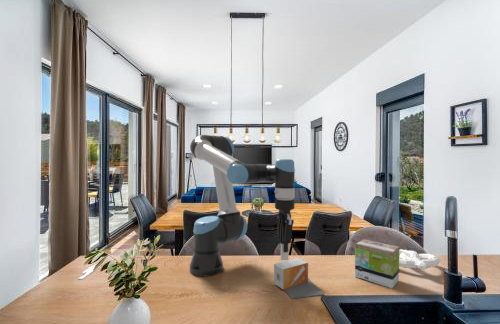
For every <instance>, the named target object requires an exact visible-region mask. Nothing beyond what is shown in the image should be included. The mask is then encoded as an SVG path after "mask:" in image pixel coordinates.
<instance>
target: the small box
mask: <svg viewBox="0 0 500 324" xmlns="http://www.w3.org/2000/svg"><path fill="white" fill-rule="evenodd" d="M308 278H309V262H307V261H305V260H304V259H301V258H299V257H296V258H292V259H288V260H283V261H280V262H276V263H274V264H273V284H274V285H276V286H277V287H279V288H280V289H281V290H284V291H285V289H287V288H290V287H293V286H296V285H300V284H303V283H306V282H308Z"/></svg>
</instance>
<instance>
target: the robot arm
mask: <svg viewBox="0 0 500 324" xmlns="http://www.w3.org/2000/svg"><path fill="white" fill-rule="evenodd" d="M189 149H190V150H189V151H190V153H191V154H192V155H193V156H194V157H195V158H196V159H198V160H200V161H205V162H206V163H208V164H210V165H211V166H212V169H213V170H212V171H213V175H214V183H215V189H216V198H217V203H218V209H219V210H218V213H217V215H207V216H203V217H200V218H198V219H196V220H195V222H194V224H193V255H192V257H191V260H190V263H189V273H191V274H192V275H194V276H197V277H199V276H200V277H209V276H214V275H218V274H220V273H221V272H222V271H223V270H224V262H223V259H222V257H221V253H220V245H221V244H225V243H229V242H233V241H234V242H235V241H238V240H240V239H243V238H244V237H245V235H246V233H247V231H248V221H247V219H246V218H245V217H244V215H243V214H242V215H241V211H240V210H239V209H238V208H237V203H236V197H235V191H234V185H235V184H236V185H244V184H245V185H246V184H256V183H257V184H258V183H273V184H274V188H275V189H274V191H273V192H274V196H275V200H274V208H275V209H276V210H277V211H278V213H277V214H276V220H277V221H276V222H277V234H278V239H279V242H280V260H281V261H288V260H289V247H290V246H289V244H292V236H293V225H294V222H295V221H294V219H292V213H291V211H292V210H294V209H295V195H296V194H295V193H296V191H295V190H296V189H295V171H296V168H295V161H294V160H293V159H292V158H291V159H289V158H286V159H285V158H283V159H281V158H279V159H275V162H274V164H272V163H271V164H270V163H267V164H266V163H256V164H255V163H244V162H243V161H241V160H239V159H237V158H235V157H233V156H234V152H235V146H234V143H233V141H232V139H230V138H229V137H227V136H223V135H209V134H201V135H198V136H195V137H194V138H193V139H192V140H191V143H190V146H189Z"/></svg>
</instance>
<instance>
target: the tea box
mask: <svg viewBox="0 0 500 324" xmlns="http://www.w3.org/2000/svg"><path fill="white" fill-rule="evenodd" d="M354 248H355V249H354V252H355V253H354V254H355V255H354V276H355V278H359V279H363V280H365V281H368V282H371V283H375V284H377V285H380V286H384V287H386V288H389V289H393V288H394V286H396V284H397V283H398V282H399V281H400V279H399V278H400V266H399V250H400V246H398V245H397V246H396V245H393V244H387V243H383V242H378V241H374V240H370V239H364V238H363V239H361V240H360V241H358V242H357V243H355V247H354Z"/></svg>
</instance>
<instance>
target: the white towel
mask: <svg viewBox="0 0 500 324" xmlns="http://www.w3.org/2000/svg"><path fill="white" fill-rule="evenodd" d="M440 263H441V260H440V258H439V256H436V255H434V254H431V253H418V252H417V251H415V250H408V249H403V248H399V268H401V267H402V268H406V269H407V268H411V269H412V268H413V269H414V268H416V269H421V270H423V271H425V270H427V269H428V268H434V267H437V266H438V265H439V264H440Z"/></svg>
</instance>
